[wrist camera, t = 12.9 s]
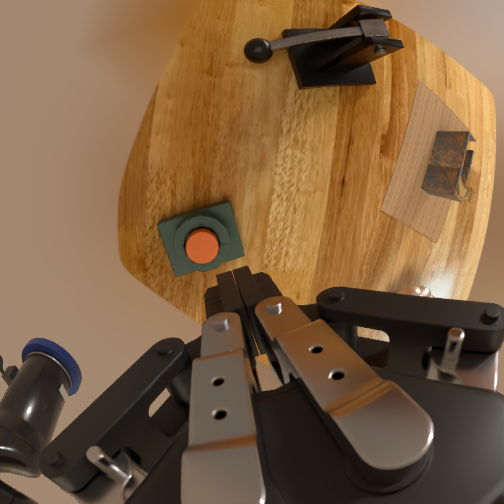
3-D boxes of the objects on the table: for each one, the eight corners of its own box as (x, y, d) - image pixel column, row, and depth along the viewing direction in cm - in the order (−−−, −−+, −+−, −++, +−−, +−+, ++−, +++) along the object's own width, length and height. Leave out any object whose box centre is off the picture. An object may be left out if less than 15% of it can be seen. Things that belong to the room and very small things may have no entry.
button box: (176, 272, 35) (175, 283, 32) (158, 221, 33) (154, 227, 30) (242, 251, 36) (247, 260, 33) (228, 200, 34) (231, 203, 31)
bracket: (299, 89, 31) (348, 60, 19) (281, 33, 28) (319, -14, 16) (371, 85, 32) (431, 67, 20) (354, 33, 29) (406, 3, 17)
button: (191, 262, 32) (191, 267, 30) (182, 233, 31) (181, 237, 29) (221, 253, 32) (222, 258, 31) (212, 224, 31) (213, 227, 30)
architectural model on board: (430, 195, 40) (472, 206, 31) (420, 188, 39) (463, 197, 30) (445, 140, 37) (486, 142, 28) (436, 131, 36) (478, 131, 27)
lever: (252, 69, 27) (244, 63, 24) (245, 47, 26) (236, 39, 23) (386, 46, 21) (392, 38, 18) (378, 23, 20) (382, 13, 17)
